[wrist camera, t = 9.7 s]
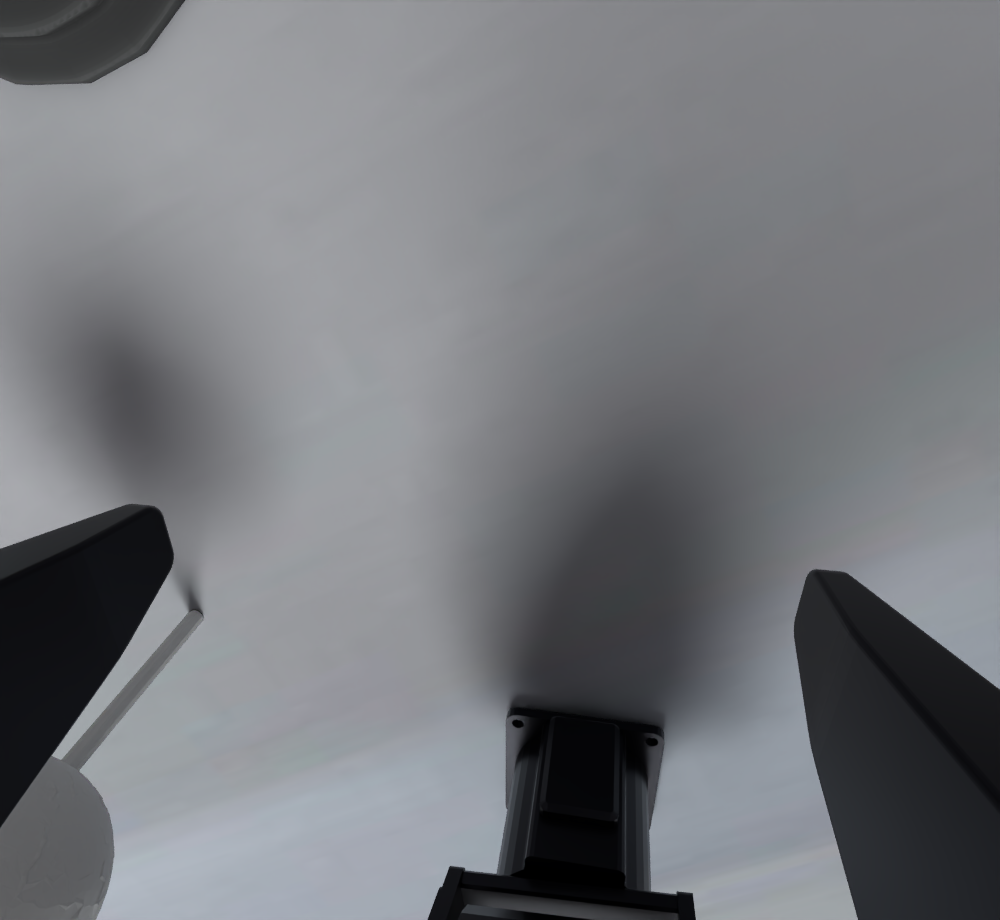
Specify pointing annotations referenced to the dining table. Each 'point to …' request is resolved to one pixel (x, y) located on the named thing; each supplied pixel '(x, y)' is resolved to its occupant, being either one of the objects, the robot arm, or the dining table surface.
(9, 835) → the lollipop
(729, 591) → the dining table surface
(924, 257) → the dining table surface
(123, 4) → the figurine
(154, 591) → the robot arm
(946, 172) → the dining table surface
